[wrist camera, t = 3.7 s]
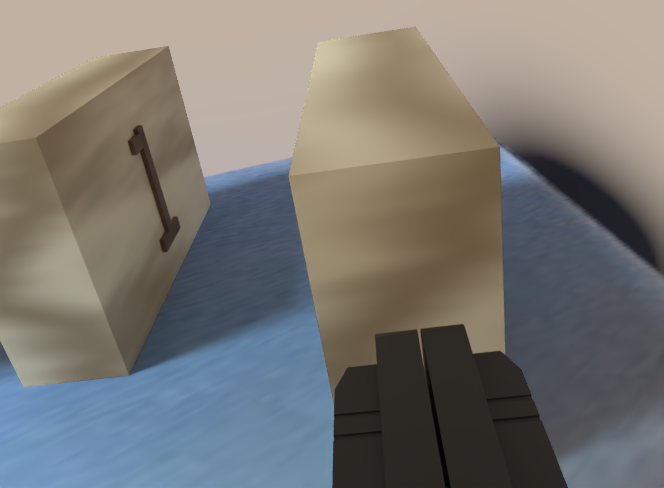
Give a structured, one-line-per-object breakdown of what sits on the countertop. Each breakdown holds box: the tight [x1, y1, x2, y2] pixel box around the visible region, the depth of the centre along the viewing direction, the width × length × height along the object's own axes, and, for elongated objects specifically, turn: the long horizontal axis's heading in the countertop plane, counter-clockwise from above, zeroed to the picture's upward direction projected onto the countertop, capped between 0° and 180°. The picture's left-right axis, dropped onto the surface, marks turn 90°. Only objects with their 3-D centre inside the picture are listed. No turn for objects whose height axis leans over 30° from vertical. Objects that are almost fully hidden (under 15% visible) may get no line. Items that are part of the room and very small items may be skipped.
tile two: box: [288, 27, 505, 402], centre depth 20 cm, size 4×15×9 cm, turn 179°
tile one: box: [0, 46, 211, 387], centre depth 26 cm, size 4×15×9 cm, turn 179°
